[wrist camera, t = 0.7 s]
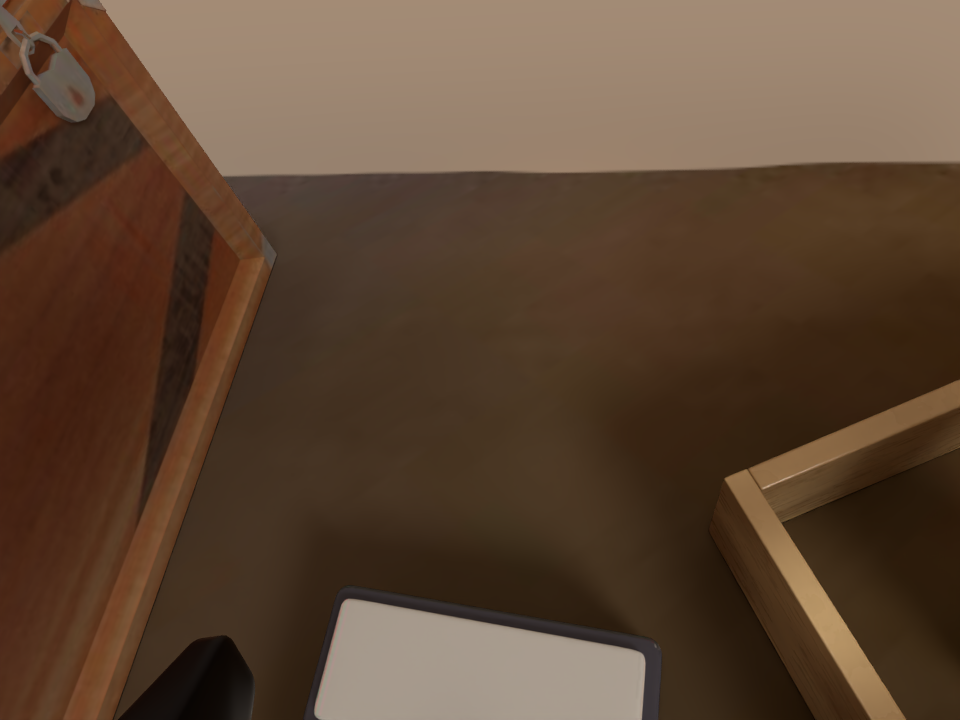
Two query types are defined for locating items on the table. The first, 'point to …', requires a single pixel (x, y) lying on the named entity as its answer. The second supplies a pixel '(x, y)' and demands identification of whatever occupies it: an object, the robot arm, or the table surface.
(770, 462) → the crate
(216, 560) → the table surface
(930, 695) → the table surface
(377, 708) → the calculator
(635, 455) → the table surface
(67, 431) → the wooden box
